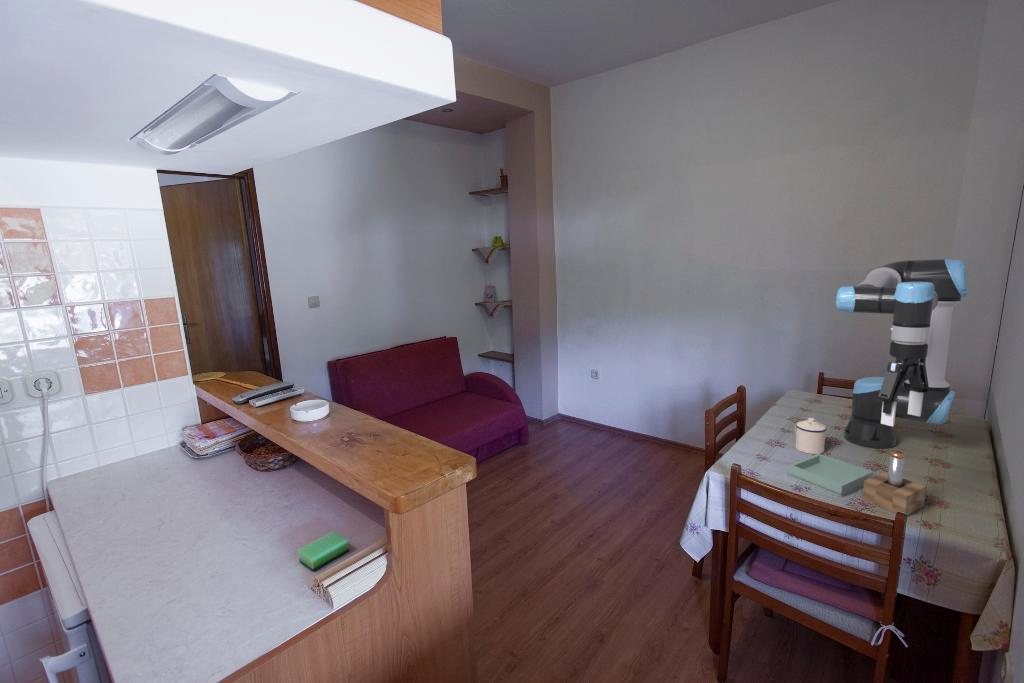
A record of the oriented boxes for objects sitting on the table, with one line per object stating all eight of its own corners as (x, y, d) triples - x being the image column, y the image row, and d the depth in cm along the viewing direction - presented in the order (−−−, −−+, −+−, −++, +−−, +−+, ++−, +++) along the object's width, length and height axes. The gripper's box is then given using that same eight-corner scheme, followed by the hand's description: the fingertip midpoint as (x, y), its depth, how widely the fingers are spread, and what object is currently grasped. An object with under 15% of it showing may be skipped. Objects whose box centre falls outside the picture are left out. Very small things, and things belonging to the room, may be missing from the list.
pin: (889, 499, 131) (894, 449, 128) (901, 504, 128) (907, 453, 126) (883, 502, 130) (888, 452, 127) (896, 507, 127) (901, 456, 124)
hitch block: (881, 491, 136) (883, 471, 134) (923, 506, 127) (926, 486, 126) (862, 500, 131) (864, 480, 130) (904, 517, 122) (906, 496, 121)
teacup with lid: (831, 453, 161) (833, 421, 159) (806, 456, 160) (808, 424, 158) (806, 440, 173) (808, 410, 171) (783, 442, 172) (785, 412, 170)
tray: (817, 463, 155) (818, 453, 154) (871, 482, 140) (872, 472, 140) (786, 475, 148) (787, 465, 147) (841, 497, 133) (841, 486, 133)
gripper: (916, 334, 129) (908, 407, 133) (866, 345, 119) (859, 424, 122) (950, 338, 123) (941, 414, 126) (901, 350, 112) (892, 433, 116)
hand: (901, 419), depth 124 cm, fingers open, 13 cm apart
